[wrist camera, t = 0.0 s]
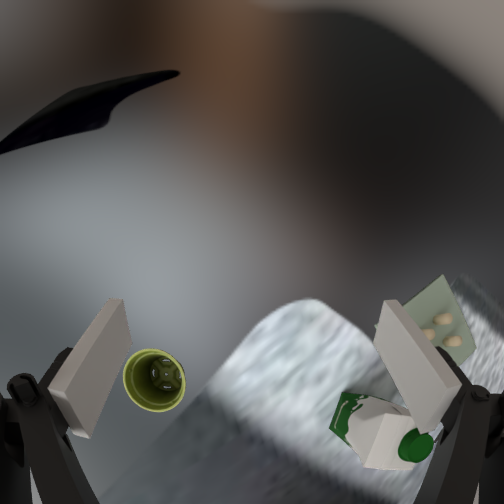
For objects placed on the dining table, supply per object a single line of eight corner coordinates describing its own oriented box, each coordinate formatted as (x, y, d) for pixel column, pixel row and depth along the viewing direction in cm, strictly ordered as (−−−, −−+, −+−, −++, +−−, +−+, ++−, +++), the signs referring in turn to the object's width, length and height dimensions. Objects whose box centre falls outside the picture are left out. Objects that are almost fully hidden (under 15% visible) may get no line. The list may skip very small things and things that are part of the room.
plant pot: (193, 346, 48) (183, 348, 40) (196, 401, 46) (187, 413, 37) (140, 345, 48) (121, 347, 40) (143, 398, 45) (125, 409, 37)
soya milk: (366, 439, 44) (421, 479, 25) (321, 431, 45) (362, 477, 25) (382, 395, 46) (446, 417, 27) (338, 385, 47) (389, 410, 28)
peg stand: (472, 348, 49) (488, 347, 43) (413, 403, 46) (428, 408, 41) (439, 275, 53) (454, 269, 47) (373, 325, 50) (387, 323, 45)
